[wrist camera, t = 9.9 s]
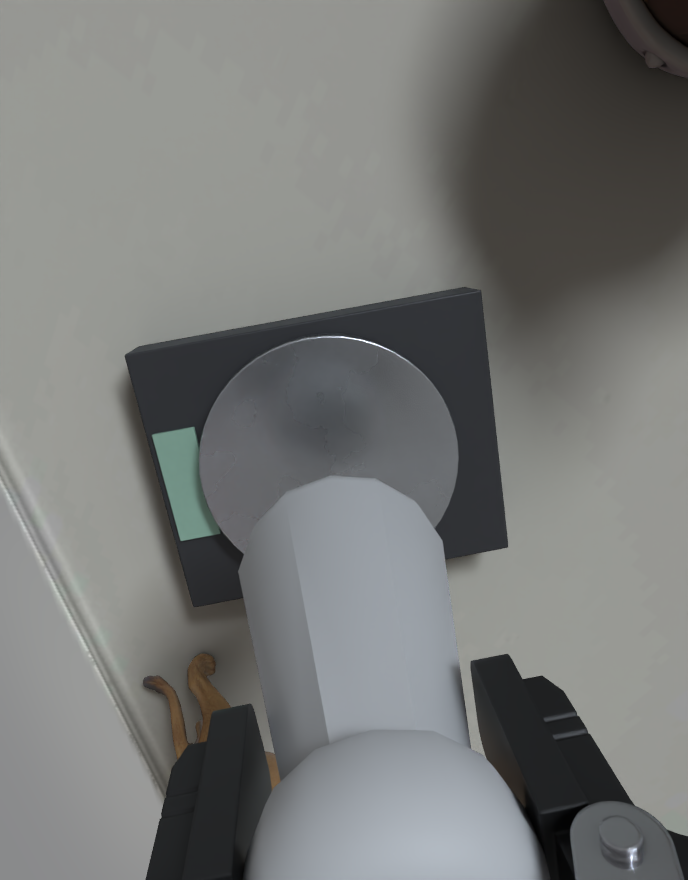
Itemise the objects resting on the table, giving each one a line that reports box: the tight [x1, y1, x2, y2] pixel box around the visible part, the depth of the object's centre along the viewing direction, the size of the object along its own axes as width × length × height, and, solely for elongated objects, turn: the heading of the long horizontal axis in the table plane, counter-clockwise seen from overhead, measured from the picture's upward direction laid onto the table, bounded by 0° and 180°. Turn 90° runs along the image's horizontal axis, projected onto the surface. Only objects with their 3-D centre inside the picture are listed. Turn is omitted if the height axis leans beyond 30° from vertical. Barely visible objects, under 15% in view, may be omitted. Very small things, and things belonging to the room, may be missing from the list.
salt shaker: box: [238, 476, 550, 880], centre depth 14 cm, size 6×6×13 cm
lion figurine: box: [143, 653, 281, 790], centre depth 30 cm, size 15×5×9 cm, turn 64°
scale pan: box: [199, 333, 459, 554], centre depth 27 cm, size 11×11×1 cm
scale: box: [125, 287, 508, 607], centre depth 29 cm, size 15×12×3 cm
